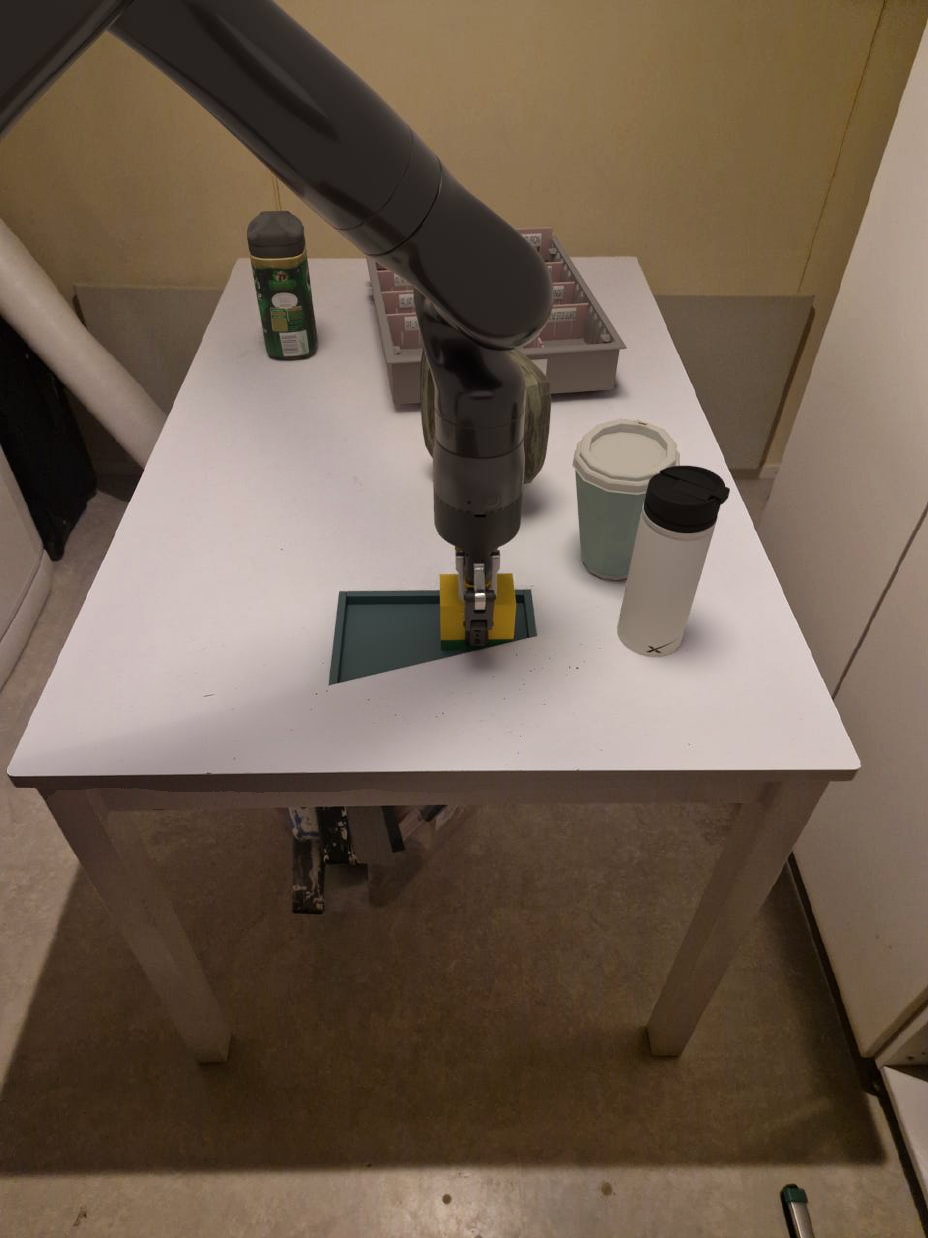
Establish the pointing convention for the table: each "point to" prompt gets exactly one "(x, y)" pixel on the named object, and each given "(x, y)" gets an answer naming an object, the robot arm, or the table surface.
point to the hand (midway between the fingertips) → (475, 624)
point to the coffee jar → (282, 284)
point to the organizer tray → (565, 349)
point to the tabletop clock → (534, 412)
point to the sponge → (455, 607)
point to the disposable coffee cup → (616, 489)
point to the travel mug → (669, 557)
